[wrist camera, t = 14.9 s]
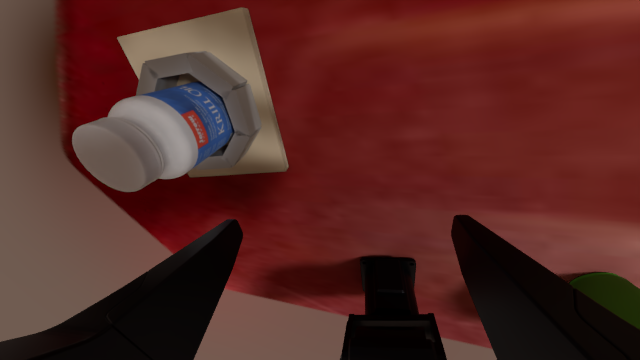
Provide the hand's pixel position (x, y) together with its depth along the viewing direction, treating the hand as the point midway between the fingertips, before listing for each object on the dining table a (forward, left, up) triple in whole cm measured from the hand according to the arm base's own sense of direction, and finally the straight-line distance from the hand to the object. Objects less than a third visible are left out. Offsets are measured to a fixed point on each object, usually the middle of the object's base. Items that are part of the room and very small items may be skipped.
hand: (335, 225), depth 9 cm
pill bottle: (+3, +12, -12) cm, 17 cm away
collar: (+3, +12, -12) cm, 18 cm away
